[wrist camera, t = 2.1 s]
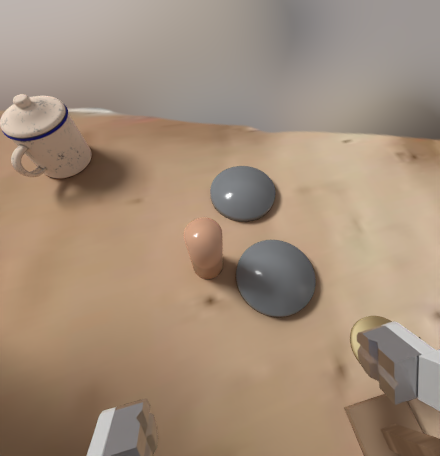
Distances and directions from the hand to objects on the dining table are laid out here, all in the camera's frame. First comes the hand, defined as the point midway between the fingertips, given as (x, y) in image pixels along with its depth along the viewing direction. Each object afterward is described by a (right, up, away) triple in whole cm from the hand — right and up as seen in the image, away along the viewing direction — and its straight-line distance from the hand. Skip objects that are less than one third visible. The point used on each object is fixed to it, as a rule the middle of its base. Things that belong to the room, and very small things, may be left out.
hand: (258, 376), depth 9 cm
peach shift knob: (-3, +1, +25) cm, 25 cm away
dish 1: (+2, +11, +30) cm, 32 cm away
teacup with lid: (-29, +16, +34) cm, 47 cm away
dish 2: (+6, -1, +24) cm, 24 cm away
